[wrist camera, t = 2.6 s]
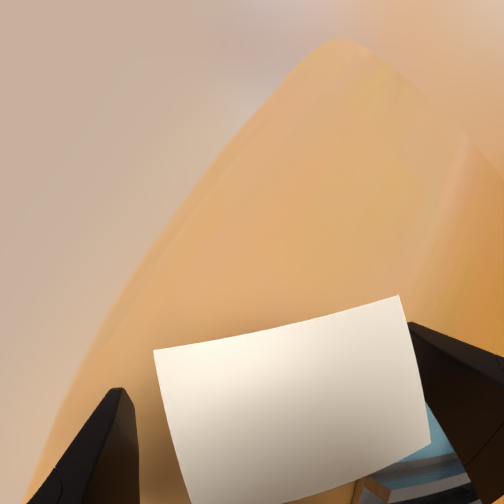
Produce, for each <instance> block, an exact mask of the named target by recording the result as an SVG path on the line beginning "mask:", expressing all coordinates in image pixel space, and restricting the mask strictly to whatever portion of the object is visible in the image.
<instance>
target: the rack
mask: <svg viewBox="0 0 504 504" xmlns="http://www.w3.org/2000/svg"><path fill="white" fill-rule="evenodd" d="M425 406H426V412H427V418H428V424H429V431H430V438H431V444H429V445H427V446H425V447H424V448H422V449H420V450H418V451H416V452H415V453H413V454H411V455H409V456H407V457H405V458H403V459H401V460H399V461H397V462H395V463H393V464H391V465H389V466H387V467H385V468H383V469H380V470H378V471H376V472H374V473H371V474H369V475H367V476H364V477H362V478H360V479H357V483H356V487H355V491H354V495H353V499H352V503H351V504H482V502H481V500H480V498H479V496H478V494H477V492H476V491H475V489H474V487H473V485H472V483H471V481H470V479H469V477H468V475H467V473H466V471H465V470H464V467H463V466H462V464H461V462H460V460H459V458H458V457H457V455H456V453H455V451H454V449H453V448H452V446H451V444H450V442H449V441H448V439H447V437H446V435H445V434H444V432H443V430H442V429H441V427H440V425H439V423H438V422H437V420H436V418H435V417H434V415H433V413H432V412H431V410H430V408H429V407H428V405H427V404H426V402H425Z"/></svg>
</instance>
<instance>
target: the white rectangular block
mask: <svg viewBox="0 0 504 504" xmlns="http://www.w3.org/2000/svg"><path fill="white" fill-rule="evenodd" d="M153 353H154V359H155V365H156V370H157V375H158V380H159V385H160V390H161V395H162V399H163V404H164V408H165V413H166V417H167V421H168V425H169V429H170V433H171V437H172V441H173V444H174V448H175V452H176V455H177V459H178V462H179V466H180V469H181V472H182V476H183V479H184V482H185V485H186V488H187V491H188V495H189V497H190V500H191V503H192V504H283V503H287V502H291V501H295V500H298V499H302V498H305V497H309V496H312V495H315V494H318V493H321V492H324V491H327V490H330V489H333V488H336V487H339V486H341V485H344V484H347V483H349V482H352V481H355V480H357V479H360V478H362V477H364V476H367V475H369V474H371V473H374V472H376V471H378V470H380V469H383V468H385V467H387V466H389V465H391V464H393V463H395V462H397V461H399V460H401V459H403V458H405V457H407V456H409V455H411V454H413V453H415V452H416V451H418V450H420V449H422V448H424V447H425V446H427V445H429V444H431V438H430V431H429V424H428V418H427V412H426V406H425V400H424V395H423V390H422V385H421V380H420V375H419V370H418V366H417V362H416V357H415V353H414V349H413V345H412V341H411V337H410V333H409V329H408V326H407V322H406V318H405V315H404V311H403V308H402V305H401V301H400V298H399V295H396V296H393V297H390V298H386V299H383V300H380V301H376V302H373V303H370V304H366V305H363V306H359V307H356V308H352V309H348V310H345V311H341V312H337V313H334V314H330V315H326V316H322V317H318V318H314V319H310V320H306V321H302V322H298V323H294V324H289V325H285V326H281V327H276V328H272V329H267V330H263V331H258V332H253V333H249V334H244V335H239V336H234V337H229V338H223V339H218V340H213V341H207V342H201V343H196V344H190V345H184V346H178V347H171V348H165V349H158V350H153Z"/></svg>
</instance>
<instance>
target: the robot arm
mask: <svg viewBox="0 0 504 504" xmlns="http://www.w3.org/2000/svg"><path fill="white" fill-rule="evenodd" d="M407 326H408V329H409V333H410V337H411V341H412V345H413V349H414V353H415V357H416V362H417V366H418V370H419V375H420V380H421V385H422V390H423V395H424V400H425V402H426V404H427V405H428V407H429V408H430V410H431V412H432V413H433V415H434V417H435V418H436V420H437V422H438V423H439V425H440V427H441V429H442V430H443V432H444V434H445V435H446V437H447V439H448V441H449V442H450V444H451V446H452V448H453V449H454V451H455V453H456V455H457V457H458V458H459V460H460V462H461V464H462V466H463V467H464V470H465V471H466V473H467V475H468V477H469V479H470V481H471V483H472V485H473V487H474V489H475V491H476V492H477V494H478V496H479V498H480V500H481V502H482V504H492V503H493V502H495V501H496V500H497V499H499V498H500V497H502V496H503V495H504V357H501V356H499V355H496V354H495V355H494V354H493V353H491V352H488V351H486V350H483V349H480V348H478V347H475V346H473V345H470V344H468V343H465V342H462V341H460V340H457V339H455V338H452V337H450V336H447V335H444V334H442V333H439V332H437V331H434V330H432V329H429V328H427V327H424V326H421V325H419V324H416V323H414V322H407ZM55 467H56V468H54V469H53V470H52V471H51V473H50V474H49V476H48V477H47V479H46V480H45V481H44V483H43V484H42V486H41V487H40V488H39V489H38V491H37V492H36V493H35V494H34V496H33V497H32V498H31V499H30V500H29V501H28V503H27V504H140V491H139V448H138V439H137V429H136V418H135V408H134V405H133V402H132V401H131V399H130V397H129V396H128V394H127V392H126V390H125V389H124V388H122V387H120V388H111V389H110V390H109V391H108V393H107V394H106V395H105V397H104V398H103V399H102V401H101V402H100V404H99V405H98V406H97V408H96V409H95V410H94V412H93V413H92V415H91V416H90V417H89V419H88V420H87V422H86V423H85V424H84V426H83V427H82V429H81V430H80V431H79V433H78V434H77V436H76V437H75V438H74V440H73V441H72V443H71V444H70V446H69V447H68V448H67V450H66V451H65V453H64V454H63V456H62V457H61V459H60V460H59V461H58V463H57V464H56V466H55Z"/></svg>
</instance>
